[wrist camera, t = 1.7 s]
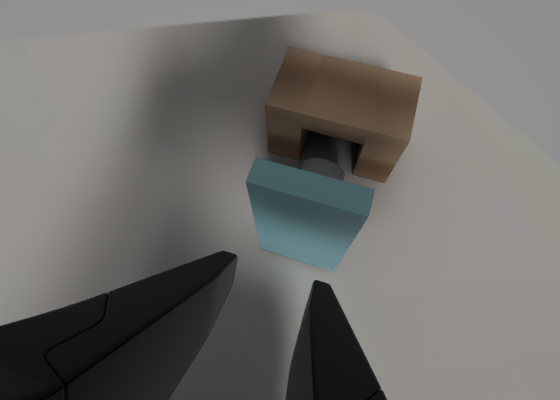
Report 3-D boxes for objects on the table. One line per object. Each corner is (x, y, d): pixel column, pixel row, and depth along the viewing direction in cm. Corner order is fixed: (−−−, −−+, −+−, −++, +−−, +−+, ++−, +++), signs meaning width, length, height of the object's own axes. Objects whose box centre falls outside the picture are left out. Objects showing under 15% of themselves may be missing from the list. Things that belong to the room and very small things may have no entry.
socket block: (384, 182, 25) (409, 141, 20) (268, 151, 26) (265, 104, 21) (396, 128, 27) (422, 77, 22) (288, 101, 28) (289, 47, 23)
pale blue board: (332, 272, 22) (368, 216, 13) (261, 249, 23) (245, 181, 14) (353, 191, 25) (396, 94, 15) (288, 172, 25) (291, 69, 16)
